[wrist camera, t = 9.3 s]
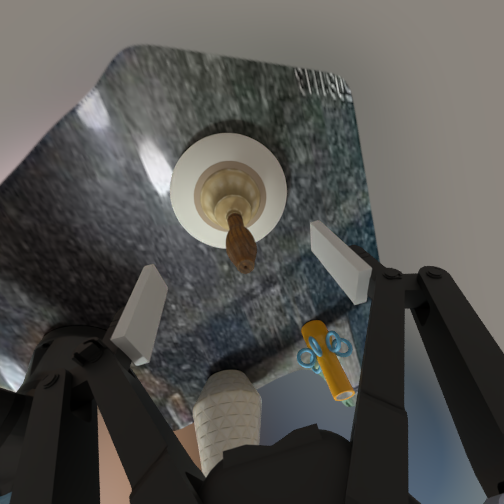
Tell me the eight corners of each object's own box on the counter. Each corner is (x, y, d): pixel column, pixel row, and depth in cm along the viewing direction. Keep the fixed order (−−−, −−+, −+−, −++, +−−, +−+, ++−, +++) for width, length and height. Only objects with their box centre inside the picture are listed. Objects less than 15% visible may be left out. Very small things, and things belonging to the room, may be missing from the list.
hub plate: (165, 231, 31) (163, 236, 30) (181, 111, 23) (179, 110, 22) (262, 252, 36) (264, 257, 34) (301, 156, 28) (306, 158, 27)
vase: (226, 399, 64) (230, 518, 45) (181, 385, 56) (163, 523, 37) (269, 374, 60) (294, 494, 41) (227, 354, 51) (235, 495, 32)
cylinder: (304, 308, 46) (337, 378, 33) (342, 312, 49) (385, 378, 36) (284, 341, 52) (305, 411, 39) (319, 343, 55) (349, 409, 42)
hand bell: (200, 164, 25) (182, 212, 12) (264, 171, 27) (312, 221, 14) (200, 225, 30) (186, 310, 16) (255, 228, 31) (285, 308, 18)
